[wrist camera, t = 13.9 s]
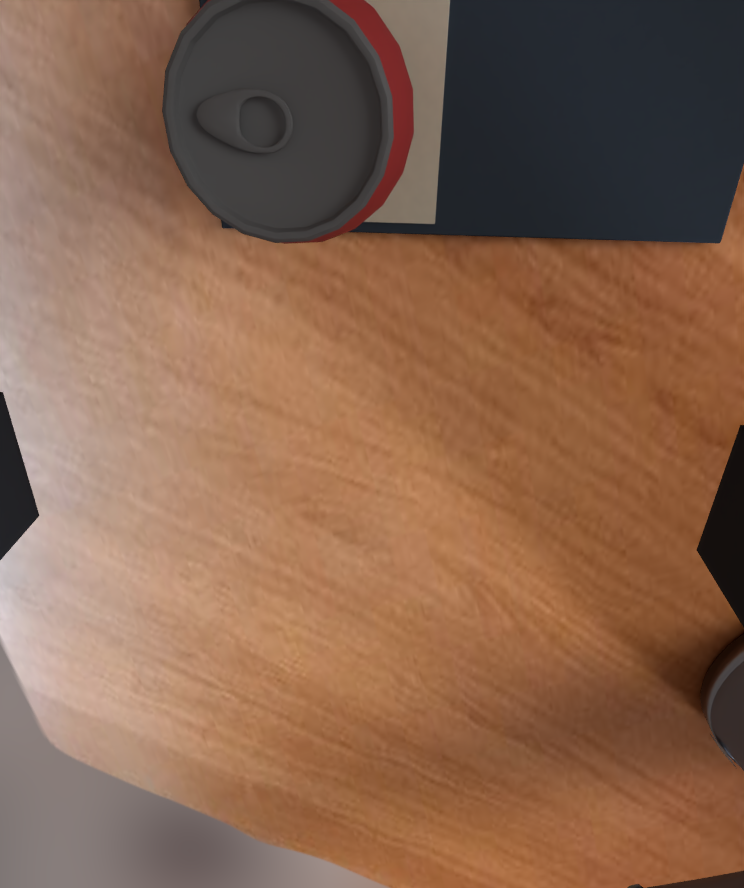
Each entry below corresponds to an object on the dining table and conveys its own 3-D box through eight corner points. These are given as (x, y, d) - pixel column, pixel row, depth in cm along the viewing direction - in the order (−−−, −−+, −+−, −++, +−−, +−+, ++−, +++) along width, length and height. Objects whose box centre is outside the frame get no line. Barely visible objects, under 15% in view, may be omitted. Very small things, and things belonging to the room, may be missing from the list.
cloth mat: (865, -280, 20) (881, -293, 19) (715, 240, 28) (722, 244, 27) (175, -282, 21) (167, -295, 20) (224, 225, 29) (220, 229, 28)
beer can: (248, -7, 24) (125, -68, 13) (423, 14, 24) (435, -30, 13) (248, 180, 27) (150, 249, 17) (401, 198, 27) (397, 277, 17)
